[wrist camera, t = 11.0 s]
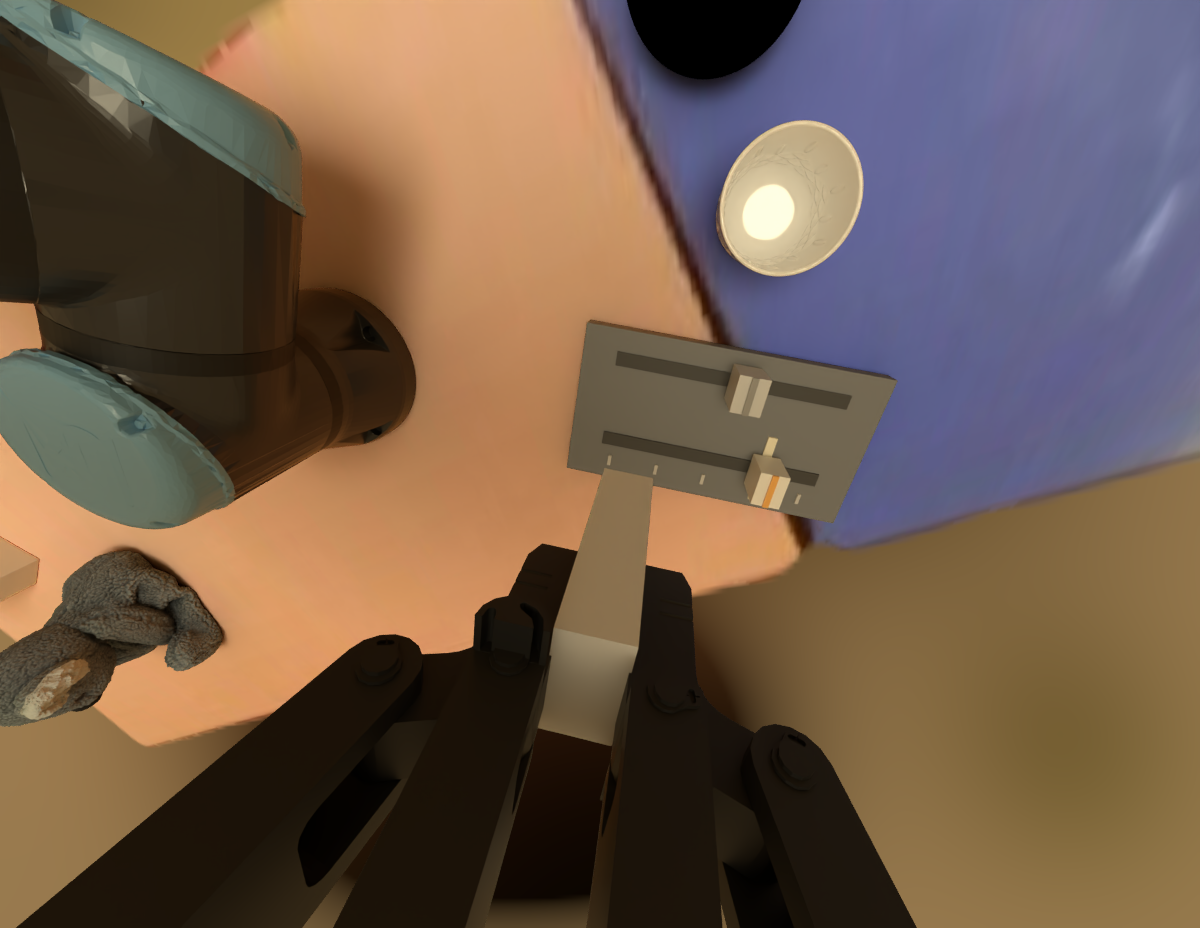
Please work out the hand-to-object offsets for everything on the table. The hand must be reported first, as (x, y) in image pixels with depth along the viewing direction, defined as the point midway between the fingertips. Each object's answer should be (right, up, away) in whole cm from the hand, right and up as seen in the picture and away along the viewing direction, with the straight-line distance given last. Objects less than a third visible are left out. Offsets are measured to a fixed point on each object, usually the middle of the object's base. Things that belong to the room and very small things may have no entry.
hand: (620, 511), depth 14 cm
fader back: (+14, +1, +27) cm, 31 cm away
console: (+10, +5, +29) cm, 31 cm away
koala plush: (-64, -17, +51) cm, 83 cm away
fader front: (+11, +8, +25) cm, 28 cm away
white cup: (+12, +21, +21) cm, 32 cm away
